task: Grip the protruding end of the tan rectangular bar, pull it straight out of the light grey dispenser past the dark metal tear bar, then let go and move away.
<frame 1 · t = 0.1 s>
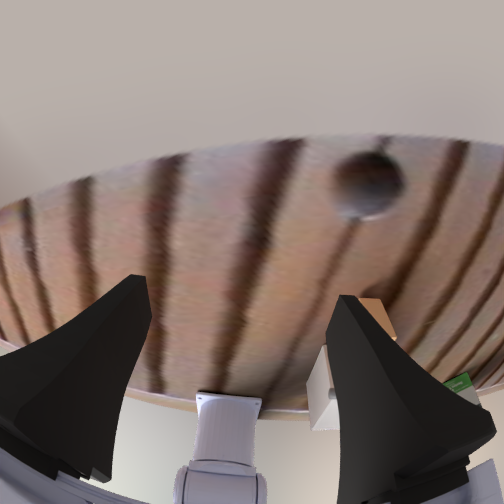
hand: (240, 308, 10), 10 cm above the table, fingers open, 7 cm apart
dispenser: (335, 365, 28), on the table
tan rectangular bar: (351, 366, 23), point 3 cm above the table, slide at 0.0 cm
ink box: (449, 388, 33), on the table
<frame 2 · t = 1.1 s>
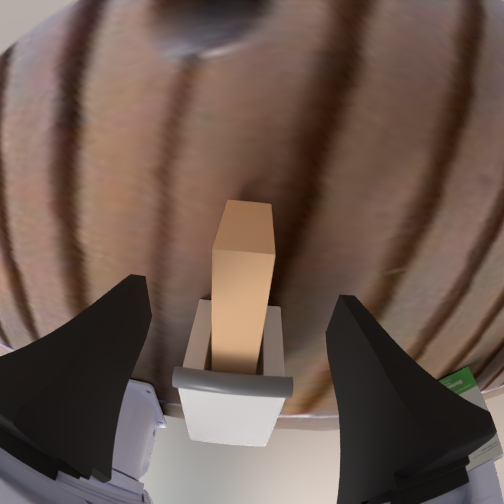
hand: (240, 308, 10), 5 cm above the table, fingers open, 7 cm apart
dispenser: (236, 341, 18), on the table
tan rectangular bar: (236, 337, 14), point 3 cm above the table, slide at 0.0 cm
ink box: (444, 390, 24), on the table
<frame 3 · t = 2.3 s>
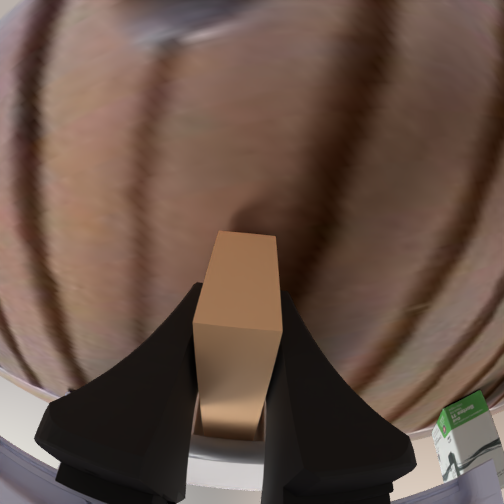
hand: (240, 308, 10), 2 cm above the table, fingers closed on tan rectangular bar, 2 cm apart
dispenser: (233, 381, 16), on the table
tan rectangular bar: (232, 390, 11), point 3 cm above the table, slide at 0.0 cm, touching gripper
ink box: (453, 412, 21), on the table
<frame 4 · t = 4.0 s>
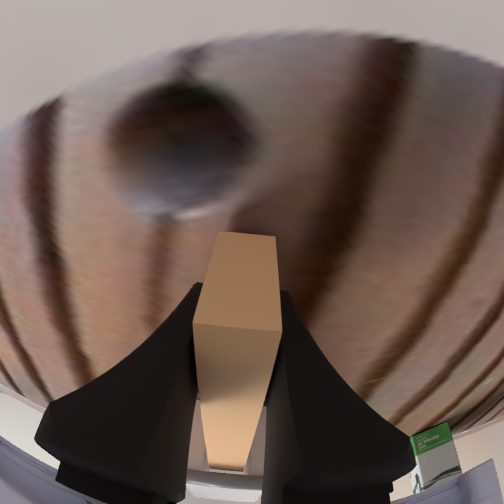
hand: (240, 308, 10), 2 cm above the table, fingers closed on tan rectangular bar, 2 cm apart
dispenser: (230, 423, 19), on the table
tan rectangular bar: (232, 390, 11), point 3 cm above the table, slide at 6.5 cm, touching gripper
ink box: (424, 437, 24), on the table
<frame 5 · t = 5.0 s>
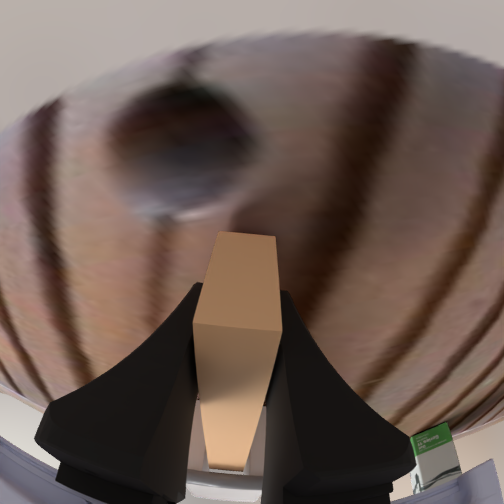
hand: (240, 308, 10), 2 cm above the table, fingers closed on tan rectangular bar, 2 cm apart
dispenser: (230, 423, 19), on the table
tan rectangular bar: (232, 390, 11), point 3 cm above the table, slide at 6.5 cm, touching gripper
ink box: (424, 437, 24), on the table
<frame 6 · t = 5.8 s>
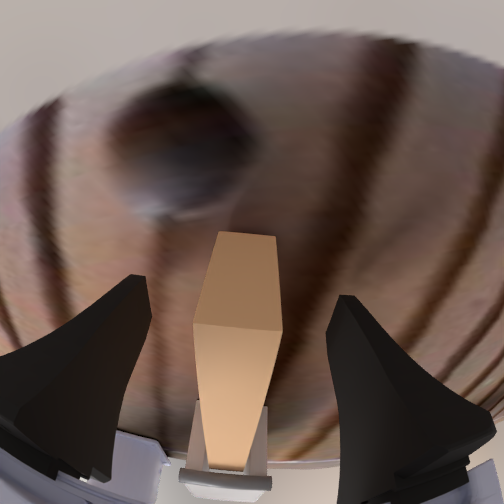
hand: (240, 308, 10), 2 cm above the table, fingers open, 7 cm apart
dispenser: (230, 423, 19), on the table
tan rectangular bar: (232, 390, 11), point 3 cm above the table, slide at 6.5 cm
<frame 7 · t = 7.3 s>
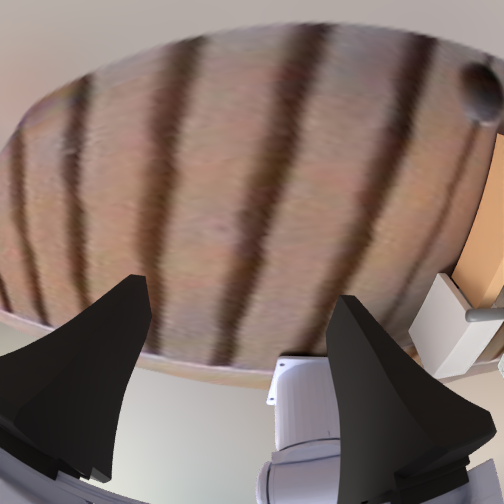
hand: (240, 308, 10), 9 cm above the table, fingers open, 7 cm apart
dispenser: (440, 304, 22), on the table
tan rectangular bar: (501, 223, 15), point 3 cm above the table, slide at 6.5 cm
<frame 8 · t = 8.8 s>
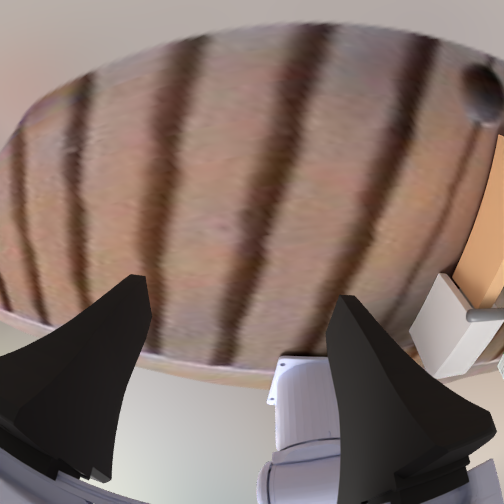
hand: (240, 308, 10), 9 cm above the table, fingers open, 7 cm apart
dispenser: (441, 304, 22), on the table
tan rectangular bar: (502, 224, 15), point 3 cm above the table, slide at 6.5 cm
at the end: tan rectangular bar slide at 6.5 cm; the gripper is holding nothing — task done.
